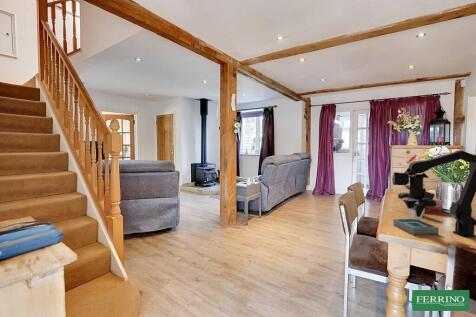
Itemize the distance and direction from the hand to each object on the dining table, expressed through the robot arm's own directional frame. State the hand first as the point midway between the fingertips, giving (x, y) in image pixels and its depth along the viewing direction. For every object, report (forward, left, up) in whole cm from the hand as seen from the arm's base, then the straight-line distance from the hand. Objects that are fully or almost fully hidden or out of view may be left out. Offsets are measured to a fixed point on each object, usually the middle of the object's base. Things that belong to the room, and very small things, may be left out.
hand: (415, 215), depth 125 cm
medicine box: (+31, -33, -8) cm, 46 cm away
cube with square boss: (0, 0, -2) cm, 2 cm away
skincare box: (+24, -20, -8) cm, 32 cm away
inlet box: (0, 0, -8) cm, 8 cm away
